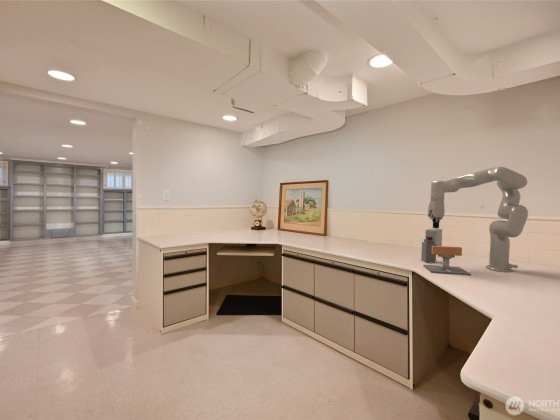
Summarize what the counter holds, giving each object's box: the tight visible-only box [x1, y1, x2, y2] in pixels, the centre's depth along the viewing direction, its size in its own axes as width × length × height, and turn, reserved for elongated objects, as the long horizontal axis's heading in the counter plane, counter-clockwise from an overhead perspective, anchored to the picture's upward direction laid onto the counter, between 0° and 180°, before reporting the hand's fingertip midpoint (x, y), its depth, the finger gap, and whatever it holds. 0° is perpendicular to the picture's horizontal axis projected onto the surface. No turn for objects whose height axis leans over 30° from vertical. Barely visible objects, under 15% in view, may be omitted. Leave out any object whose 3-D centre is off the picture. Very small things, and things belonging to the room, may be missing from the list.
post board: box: [422, 258, 472, 276], centre depth 162 cm, size 21×16×8 cm
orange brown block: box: [432, 245, 463, 259], centre depth 161 cm, size 16×6×7 cm, turn 77°
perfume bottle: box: [420, 236, 437, 264], centre depth 184 cm, size 7×7×18 cm
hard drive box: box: [424, 227, 443, 246], centre depth 214 cm, size 16×8×20 cm, turn 130°
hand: (435, 228), depth 167 cm, fingers closed
